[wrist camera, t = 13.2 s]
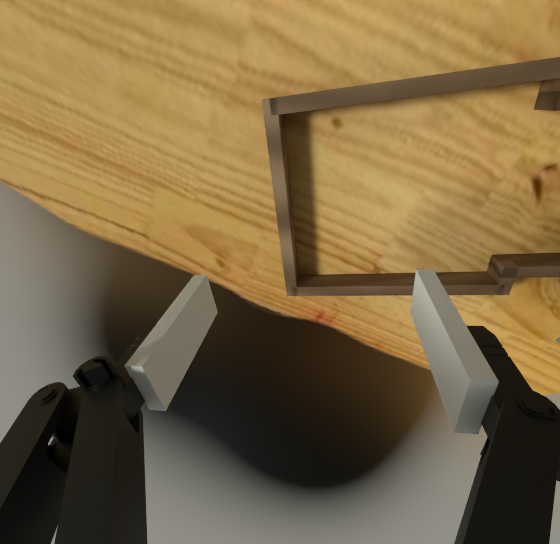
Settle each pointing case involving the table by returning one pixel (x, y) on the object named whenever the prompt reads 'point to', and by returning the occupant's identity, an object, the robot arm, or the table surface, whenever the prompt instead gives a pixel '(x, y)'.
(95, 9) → the table surface
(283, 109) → the keyhole corral
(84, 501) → the robot arm
